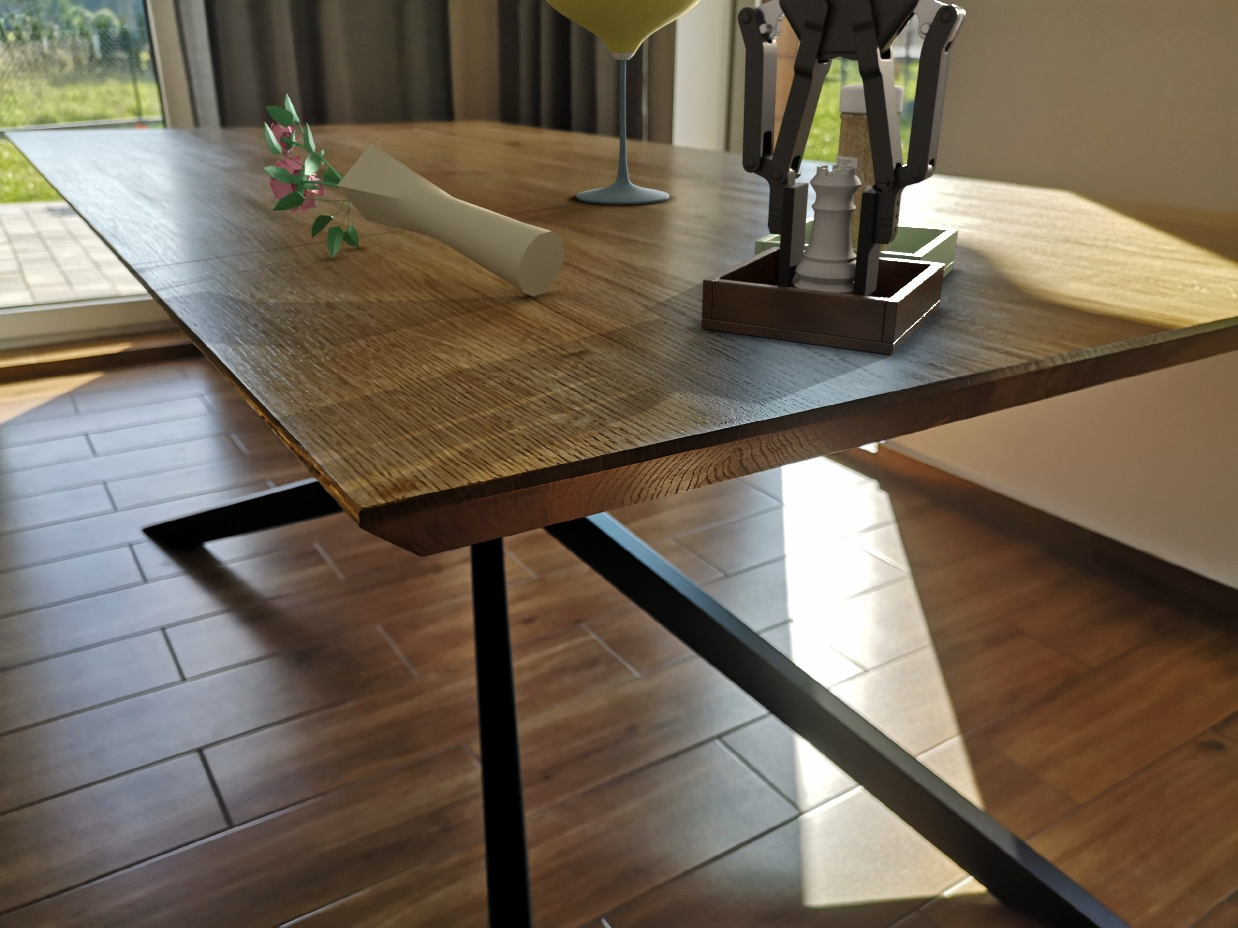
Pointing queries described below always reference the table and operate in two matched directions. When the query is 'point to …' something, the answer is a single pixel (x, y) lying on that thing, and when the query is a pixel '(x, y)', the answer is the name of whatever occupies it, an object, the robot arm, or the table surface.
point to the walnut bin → (823, 305)
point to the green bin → (897, 244)
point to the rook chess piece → (830, 233)
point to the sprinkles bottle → (858, 145)
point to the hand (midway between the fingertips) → (826, 288)
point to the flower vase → (409, 208)
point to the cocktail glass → (622, 69)
